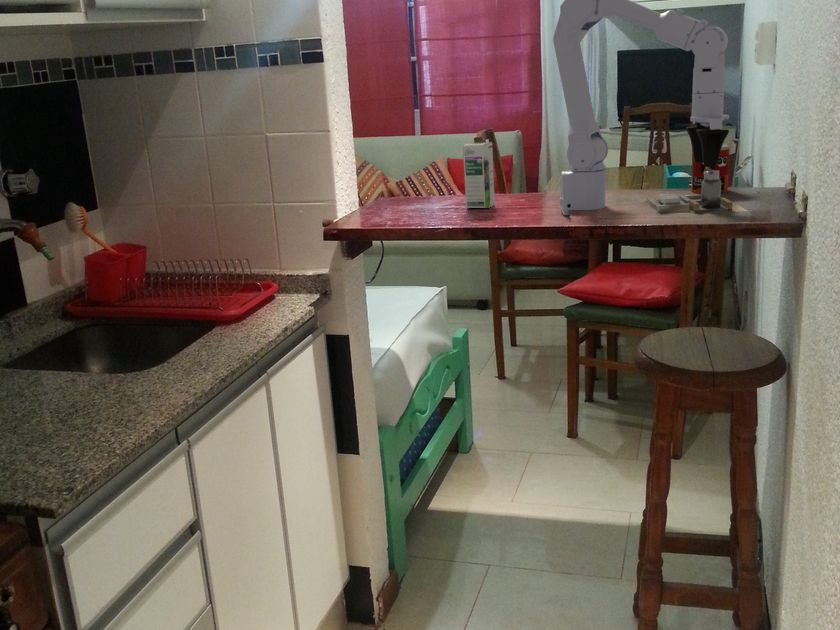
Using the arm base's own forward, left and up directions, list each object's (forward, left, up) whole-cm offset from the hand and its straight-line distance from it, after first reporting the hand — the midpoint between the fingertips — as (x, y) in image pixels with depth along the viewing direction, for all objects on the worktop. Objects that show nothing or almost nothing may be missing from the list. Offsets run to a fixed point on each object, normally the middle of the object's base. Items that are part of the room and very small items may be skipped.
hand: (705, 164), depth 161 cm
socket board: (-1, +4, -10) cm, 11 cm away
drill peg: (+1, -2, -8) cm, 8 cm away
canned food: (+6, +21, -10) cm, 24 cm away
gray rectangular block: (-6, +3, -9) cm, 11 cm away
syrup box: (-45, +22, -10) cm, 51 cm away
